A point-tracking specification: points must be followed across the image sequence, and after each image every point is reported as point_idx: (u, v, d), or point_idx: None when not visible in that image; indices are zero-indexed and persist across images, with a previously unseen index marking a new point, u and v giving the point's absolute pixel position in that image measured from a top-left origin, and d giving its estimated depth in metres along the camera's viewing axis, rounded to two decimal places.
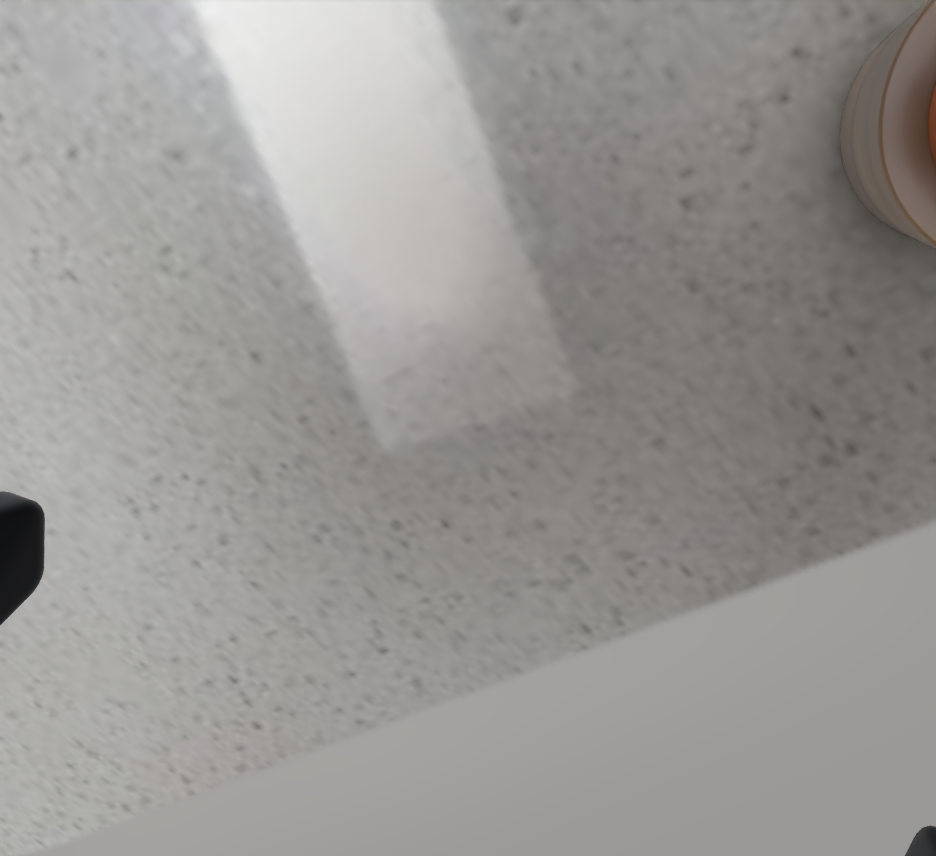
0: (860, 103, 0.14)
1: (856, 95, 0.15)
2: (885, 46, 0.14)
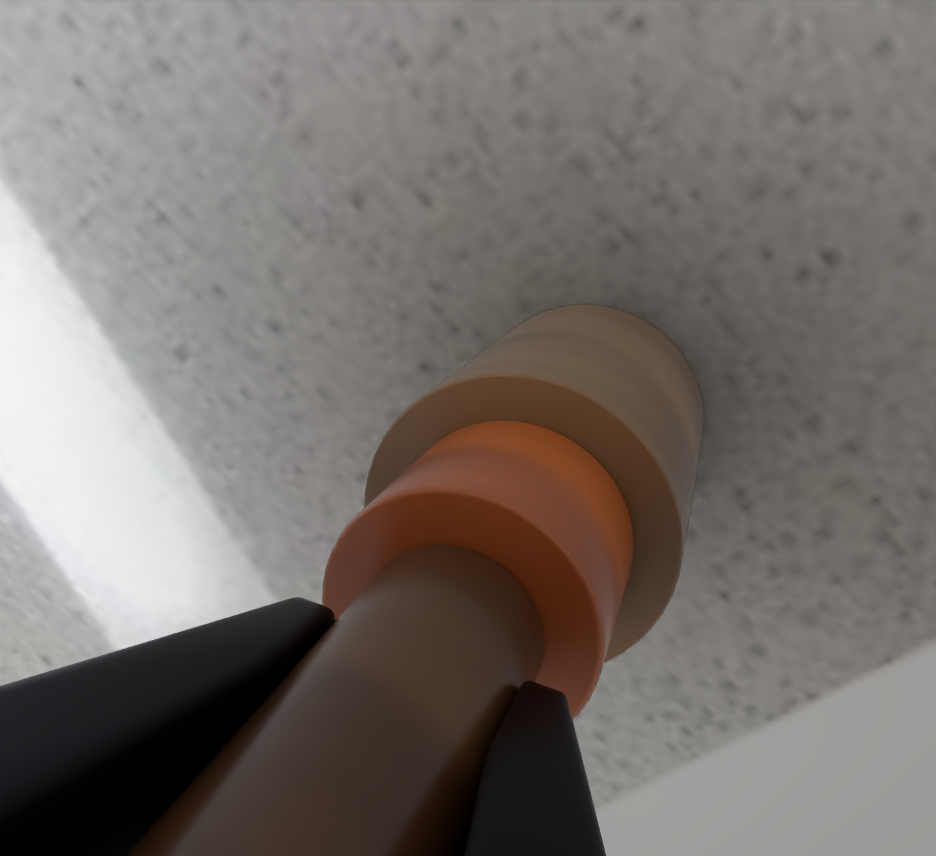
0: None
1: None
2: None
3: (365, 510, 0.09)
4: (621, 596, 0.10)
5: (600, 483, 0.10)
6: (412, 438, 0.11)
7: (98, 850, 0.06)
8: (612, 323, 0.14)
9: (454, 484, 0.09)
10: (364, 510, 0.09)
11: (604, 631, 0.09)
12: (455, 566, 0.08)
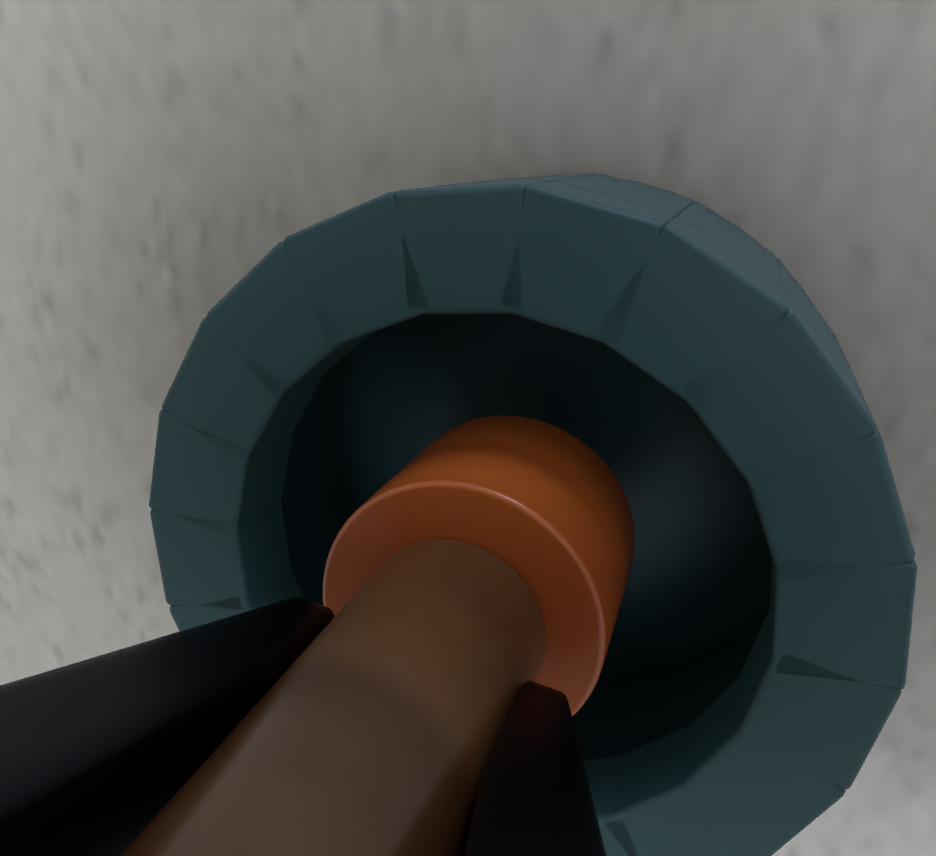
0: None
1: None
2: None
3: (364, 503, 0.09)
4: (622, 591, 0.10)
5: (601, 477, 0.10)
6: None
7: (98, 849, 0.06)
8: None
9: (455, 478, 0.09)
10: (364, 504, 0.09)
11: (606, 625, 0.09)
12: (456, 560, 0.08)
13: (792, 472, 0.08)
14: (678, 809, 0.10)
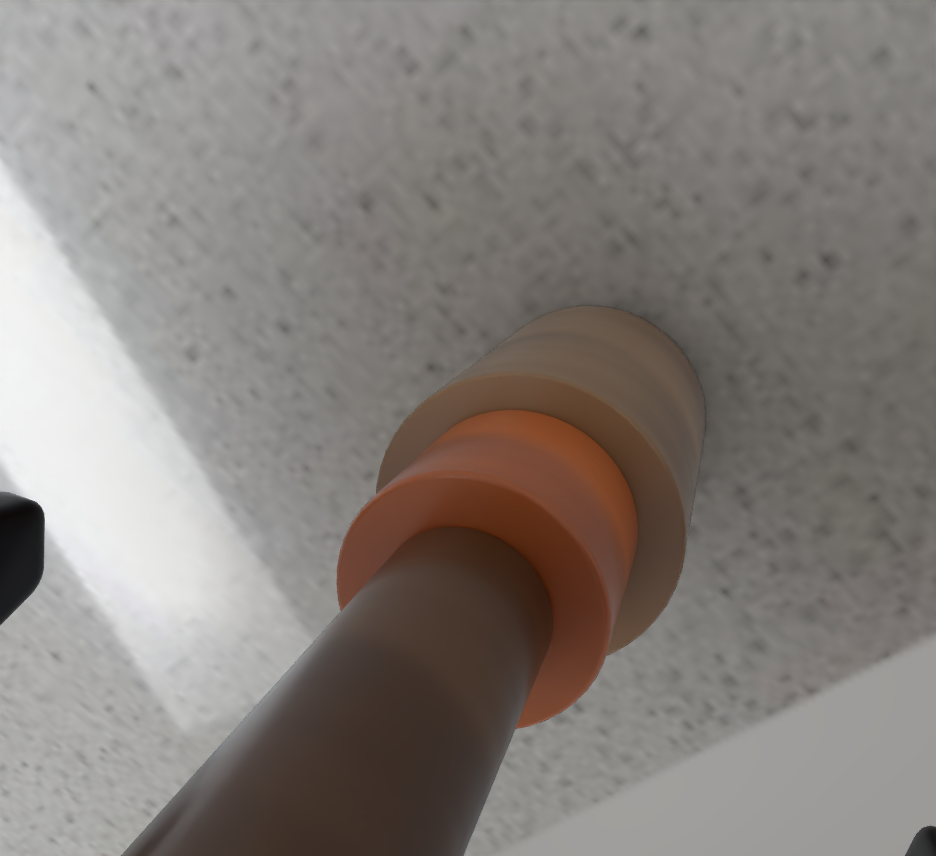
0: None
1: None
2: None
3: (378, 494, 0.09)
4: (626, 579, 0.10)
5: (605, 469, 0.11)
6: (423, 435, 0.12)
7: None
8: (616, 324, 0.15)
9: (466, 468, 0.09)
10: (378, 494, 0.09)
11: (611, 610, 0.09)
12: (468, 547, 0.09)
13: None
14: None
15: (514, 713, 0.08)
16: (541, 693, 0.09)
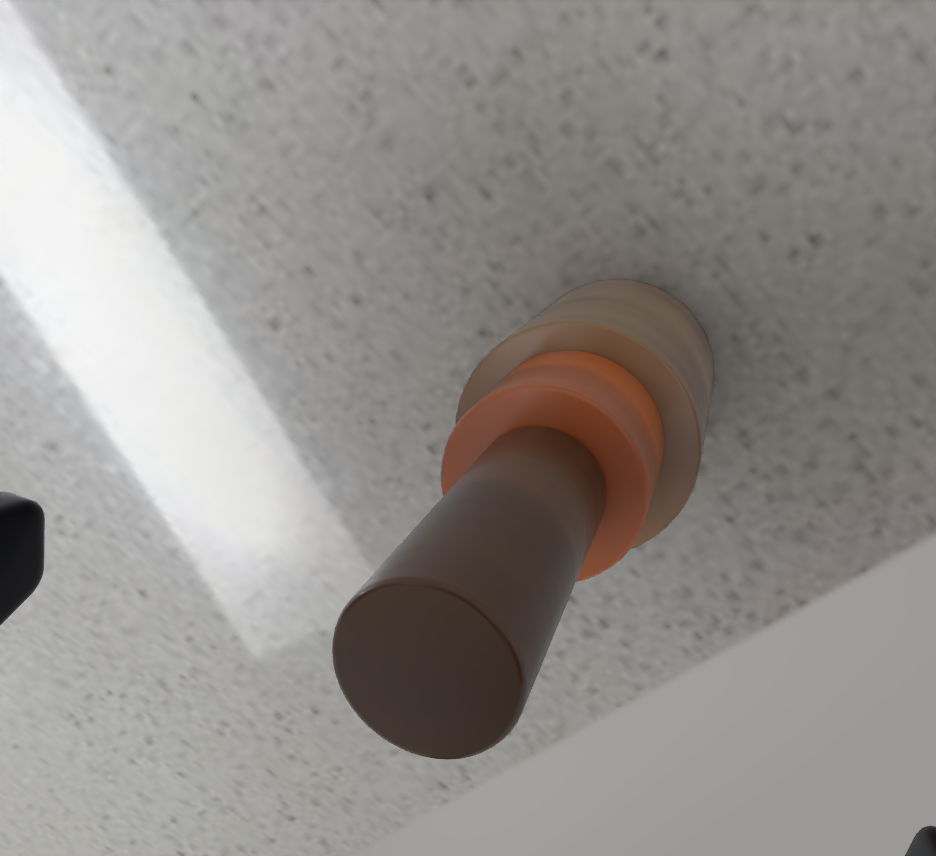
0: None
1: None
2: None
3: (476, 404, 0.13)
4: (657, 475, 0.14)
5: (641, 393, 0.14)
6: (495, 372, 0.15)
7: None
8: (641, 292, 0.18)
9: (542, 383, 0.12)
10: (476, 405, 0.13)
11: (649, 487, 0.12)
12: (546, 437, 0.12)
13: None
14: None
15: (586, 542, 0.11)
16: (596, 552, 0.13)
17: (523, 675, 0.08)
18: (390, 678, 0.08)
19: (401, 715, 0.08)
